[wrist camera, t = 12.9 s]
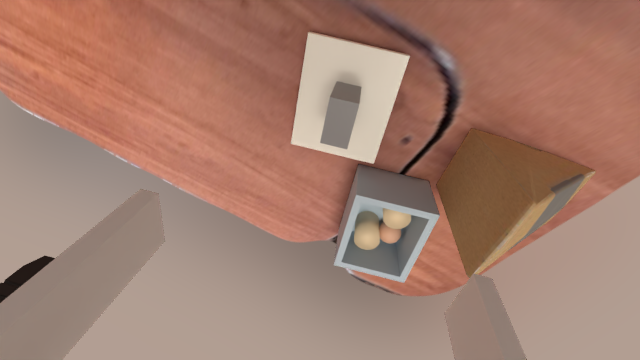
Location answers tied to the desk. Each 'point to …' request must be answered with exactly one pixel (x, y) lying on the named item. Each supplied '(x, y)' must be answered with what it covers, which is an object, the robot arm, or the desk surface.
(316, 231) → the desk surface
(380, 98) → the lid
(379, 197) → the box
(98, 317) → the robot arm
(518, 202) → the sandwich container
